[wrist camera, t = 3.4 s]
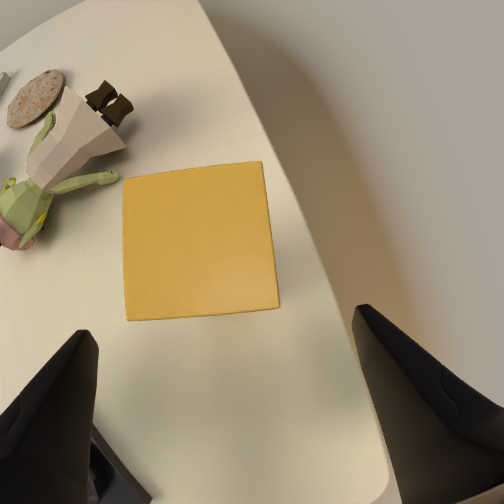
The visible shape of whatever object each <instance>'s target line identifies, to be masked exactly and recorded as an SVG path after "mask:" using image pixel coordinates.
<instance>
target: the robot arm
mask: <svg viewBox="0 0 504 504" xmlns="http://www.w3.org/2000/svg"><path fill="white" fill-rule="evenodd" d="M352 330H353V335H354V339H355V343H356V347H357V351H358V356H359V360H360V364H361V368H362V371H363V375H364V377H365V380H366V383H367V386H368V389H369V392H370V395H371V398H372V401H373V404H374V407H375V410H376V413H377V416H378V419H379V422H380V426H381V429H382V432H383V435H384V439H385V442H386V445H387V449H388V452H389V455H390V459H391V462H392V466H393V469H394V474H395V477H396V481H397V484H398V488H399V492H400V496H401V500H402V504H504V408H503V407H501V406H499V405H497V404H495V403H493V402H492V401H491V400H489V399H488V398H486V397H485V396H484V395H482V394H481V393H479V392H478V391H476V390H475V389H473V388H472V387H471V386H469V385H468V384H466V383H465V382H464V381H462V380H461V379H460V378H458V377H457V376H456V375H455V374H454V373H452V372H451V371H450V370H449V369H447V368H446V367H445V366H444V365H442V364H441V363H440V362H439V361H438V360H436V359H435V358H434V357H433V356H432V355H431V354H429V353H428V352H427V351H426V350H424V349H423V348H422V347H421V346H420V345H419V344H417V343H416V342H415V341H414V340H412V339H411V338H410V337H409V336H408V335H406V334H405V333H404V332H403V331H401V330H400V329H399V328H398V327H397V326H395V325H394V324H393V323H392V322H390V321H389V320H388V319H387V318H385V317H384V316H383V315H382V314H380V313H379V312H378V311H377V310H375V309H374V308H373V307H372V306H370V305H368V304H363V305H358V306H356V308H355V311H354V316H353V320H352ZM98 355H99V347H98V344H97V342H96V341H95V339H94V338H93V336H92V335H91V333H90V332H89V331H88V330H77V331H76V332H75V333H74V334H73V335H72V336H71V337H70V338H69V339H68V340H67V341H66V342H65V344H64V345H63V346H62V347H61V348H60V349H59V350H58V351H57V352H56V353H55V354H54V355H53V356H52V358H51V359H50V360H49V361H48V362H47V363H46V364H45V365H44V366H43V367H42V369H41V370H40V371H39V372H38V373H37V374H36V375H35V376H34V378H33V379H32V380H31V381H30V382H29V383H28V384H27V386H26V387H25V388H24V389H23V390H22V391H21V393H20V394H19V395H18V396H17V397H16V398H15V400H14V401H13V402H12V403H11V404H10V405H9V407H8V408H7V409H6V410H5V411H4V412H3V413H2V414H1V415H0V504H88V476H89V455H90V441H91V430H92V420H93V411H94V403H95V396H96V388H97V370H98Z"/></svg>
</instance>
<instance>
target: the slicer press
mask: <svg viewBox="0 0 504 504" xmlns="http://www.w3.org/2000/svg"><path fill="white" fill-rule="evenodd" d="M152 499H153V498H152V497H151V496H150V495H149V494H148V493H147V492H146V491H145V490H144V489H143V487H142V486H141V485H140V484H139V483H138V482H137V481H136V480H135V478H134V477H133V476H132V475H131V474H130V473H129V471H128V470H127V469H126V468H125V467H124V465H123V464H122V463H121V462H120V460H119V459H118V458H117V456H116V455H115V454H114V453H113V451H112V450H111V449H110V447H109V446H108V445H107V443H106V442H105V441H104V439H103V438H102V436H101V435H100V434H99V432H98V431H97V429H96V428H95V426H94V425H93V423H92V430H91V441H90V455H89V476H88V504H150V502H151V501H152Z"/></svg>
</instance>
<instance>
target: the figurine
mask: <svg viewBox="0 0 504 504" xmlns="http://www.w3.org/2000/svg"><path fill="white" fill-rule="evenodd" d="M85 97H86V99H87V100H88V101H87V102H85V101H84V100H83V99H81V98H80V97H79V96H78V95H76V94H75V93H74V92H73V91H71V90H70V89H69V88H68V87H66V86H65V89H64V92H63V95H62V99H61V103H60V106H59V110H58V117H57V124H56V126H55V123H56V122H55V121H56V117H55V113H54V112H53V111H50V112H49V113H48V114H47V116H46V118H45V121H44V124H43V126H44V127H43V128H42V129H41V131H40V132H39V133H38V135H37V136H36V137H35V140H34V142H33V145H32V147H31V150H30V153H29V155H28V158H27V166H26V173H27V174H28V175H29V176H30V178H29V179H28V180H26V181H24V182H21V183H18V184H16V185H15V182H16V178H9V179H8V180H7V182H6V183H5V185H4V186H3V189H2V190H1V191H0V246H1V245H3V246H4V247H6V248H9V249H11V250H26V249H28V248H30V247H31V246H32V245H33V244H34V242H35V240H34V239H33V238H32V237H33V236H34V235H35V234H37V233H38V232H39V231H40V230H43V229H44V228H43V223H44V220H45V217H46V214H47V212H48V209H49V206H50V203H51V200H52V198H53V194H54V193H57V194H59V195H60V194H63V193H66V192H69V191H72V190H75V189H78V188H81V187H84V186H87V185H91V184H94V183H99V184H100V185H104V184H109V183H113V182H115V181H116V180H118V174H117V173H116V172H115V171H114V170H113V171H111V173H109V172H100V173H95V174H88V175H82V176H76V177H75V175H76V174H77V173H78V171H79V170H80V169H81V167H82V166H83V165H84V164H85V163H86V162H87V161H88V159H89V158H90V157H94V156H98V155H103V154H106V153H109V152H113V151H116V150H119V149H122V148H126V147H127V146H126V145H125V144H124V142H123V141H122V140H121V139H120V138H119V137H118V135H117V134H116V133H115V132H114V131H113V130H112V128H111V126H112V125H115V126H116V127H117V128H118V127H119V125H120V123H121V121H122V120H123V118H124V116H125V115H127V114H129V113H130V112H132V111H133V110H134V108H133V106H132V103H131V102H130V101H129V100H128V99H126V98H125V97H124V96H123V95H122V94H121V93H120V95H119V96H118V94H117V92H116V90H115V88H114V87H113V86H111V85H110V84H109V83H108V82H107V81H105V80H104V82H103V83H102V84H101V86H100V87H99V89H98V90H96V91H94V92H92V93H90V94H88V95H86V96H85ZM115 98H117V99H116V100H115V102H114V103H113V104H111V105H109V106H107V104H108V103H109V102H110V101H111V100H113V99H115ZM106 106H107V107H106ZM97 110H98V111H99V112H100V113H101V114H103V115H102V116H101V117H100V116H99V115H98V114H97V113H96V111H97ZM54 126H55V127H54ZM50 131H51V132H50ZM49 132H50V133H49ZM10 180H13V185H12V186H9V185H7V184H8V182H9V181H10Z"/></svg>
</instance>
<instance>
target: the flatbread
mask: <svg viewBox="0 0 504 504" xmlns="http://www.w3.org/2000/svg"><path fill="white" fill-rule="evenodd" d="M62 84H63V74H62V73H61V72H60V71H58V70H48V71H46V72H44V73H42V74H40V75H39V76H37V77H36V78H34V79H33V80H31V81H30V82H28V83H27V84H26V85H25V86H24V87H23V88H22V89H21V90H20V91H19V92H18V93H17V95H16V96H15V98H14V99H13V100H12V102H11V103H10V104H9V106H8V115H7V124H8V126H9V127H13V128H19V127H23V126H25V125H26V124H28V123H30V122H32V121H33V120H35V119H36V118H38V117H39V116H40V115H41V114H42V113H43V112H44V111H45V110H46V109H48V107H49V106H50V105H51V104H52V103H53V102H54V101H55V99H56V98H57V96H58V94H59V92H60V90H61V87H62Z"/></svg>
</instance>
